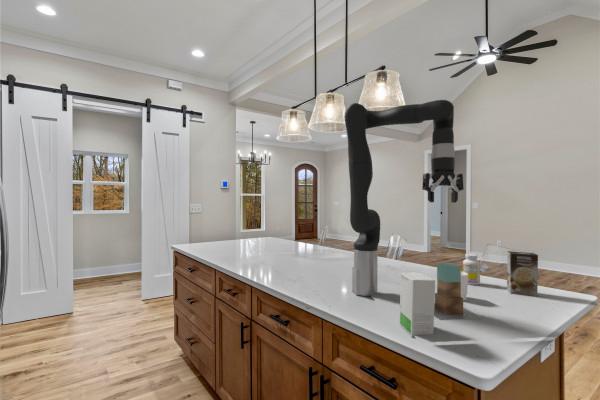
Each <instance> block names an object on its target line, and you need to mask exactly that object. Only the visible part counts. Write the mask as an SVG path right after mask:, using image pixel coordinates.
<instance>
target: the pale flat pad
mask: <svg viewBox="0 0 600 400" xmlns="http://www.w3.org/2000/svg"><path fill="white" fill-rule="evenodd" d="M434 318H437V319H438V320H440V321H450V320H451V321H452V320H453V321H455V320H481V319H485V318H484V317H482V316H480V315H478V314H477V313H475V312H473V311H471V310H469V309H467V308H465V307H464V306H463V314H450V315H445V314H444V313H442V312H440V311H439V310H437V309H436V308H435V303H434Z"/></svg>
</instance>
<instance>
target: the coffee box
mask: <svg viewBox="0 0 600 400" xmlns="http://www.w3.org/2000/svg"><path fill="white" fill-rule="evenodd" d="M506 262H507V263H506V264H507V265H506V267H507V268H506V271H507V272H506V290H507V291H508V293H509V294H514V295H516V294H517V295H523V296H533V297H538V294H539V293H538V283H539V282H538V280H539V275H538V274H539V272H538V271H539V266H538V265H539V254H536V253H534V252H524V251H514V250H513V251H512V250H507V260H506Z"/></svg>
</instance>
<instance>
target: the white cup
mask: <svg viewBox="0 0 600 400" xmlns="http://www.w3.org/2000/svg"><path fill="white" fill-rule="evenodd" d="M468 286H469V284H468V273H465V272H463V271H461V297H462V298H463V301H467V295H468Z"/></svg>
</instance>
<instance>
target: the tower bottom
mask: <svg viewBox="0 0 600 400" xmlns="http://www.w3.org/2000/svg"><path fill="white" fill-rule="evenodd" d="M434 304H435V308H436V309H437V310H439V311H440V312H442V313H444V314H445V315H450V314H463V307H464V300H463V298H462V297H461V298H445V297H443V296H441V295H439V294H437V292H435V302H434Z"/></svg>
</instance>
